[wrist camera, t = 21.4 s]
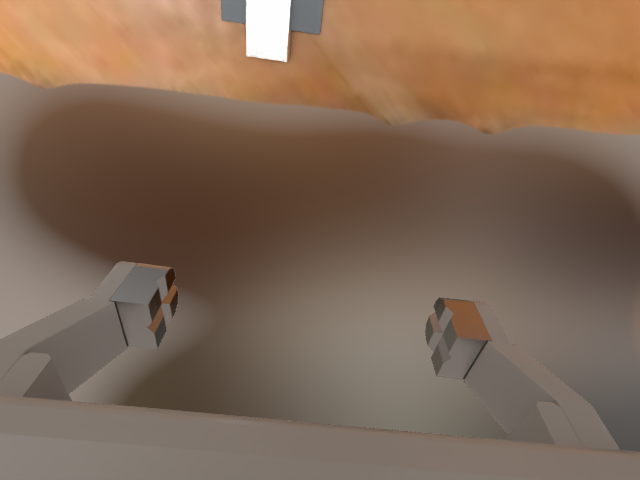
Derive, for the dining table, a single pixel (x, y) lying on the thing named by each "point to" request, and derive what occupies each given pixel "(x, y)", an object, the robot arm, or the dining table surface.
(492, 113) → the dining table surface
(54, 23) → the dining table surface
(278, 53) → the grey bar
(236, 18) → the mat
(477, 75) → the dining table surface
